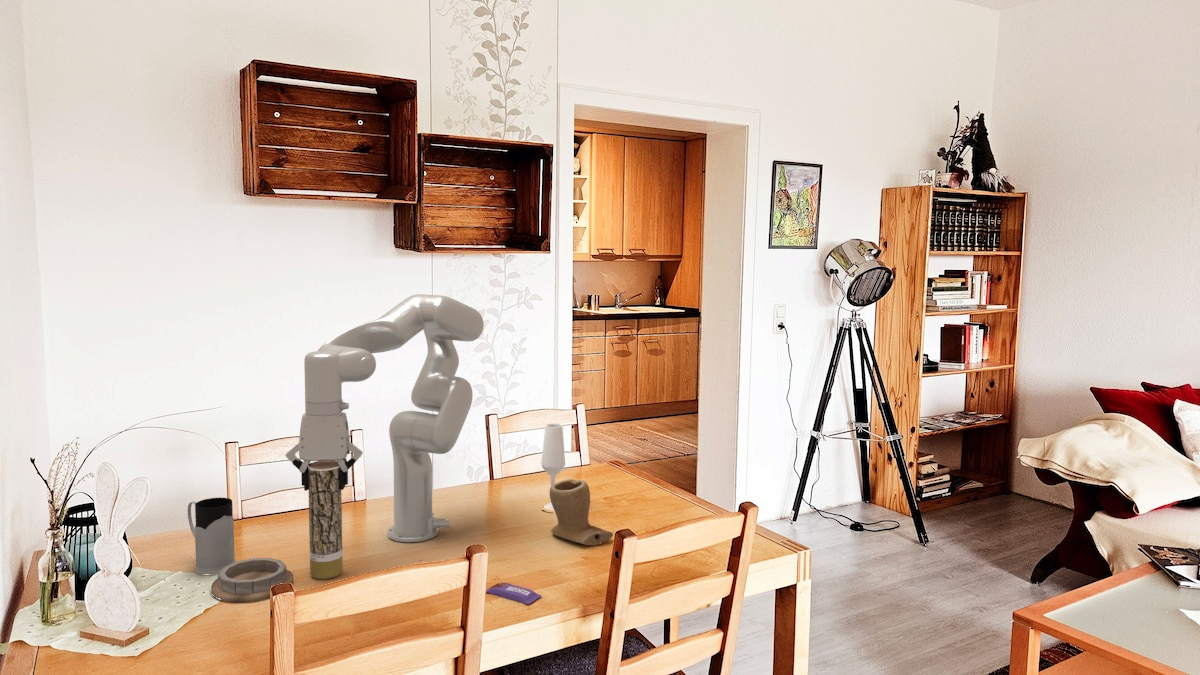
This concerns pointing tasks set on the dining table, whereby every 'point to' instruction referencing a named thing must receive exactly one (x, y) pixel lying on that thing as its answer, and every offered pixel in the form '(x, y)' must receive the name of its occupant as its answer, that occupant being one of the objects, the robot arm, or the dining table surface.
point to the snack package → (513, 593)
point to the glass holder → (213, 534)
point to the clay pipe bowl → (575, 513)
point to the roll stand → (250, 580)
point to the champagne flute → (553, 453)
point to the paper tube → (325, 519)
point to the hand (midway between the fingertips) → (325, 487)
